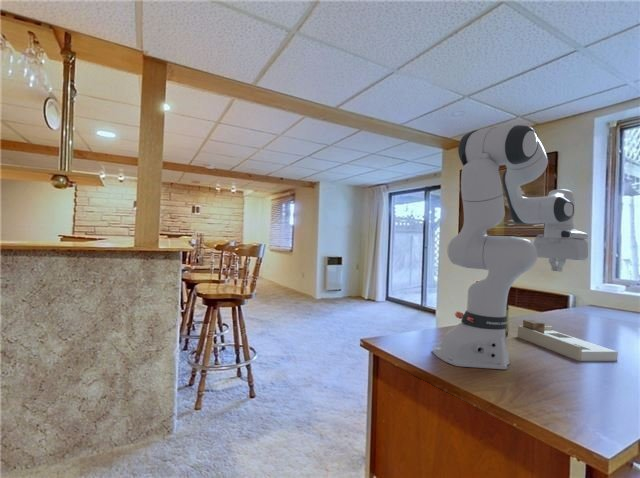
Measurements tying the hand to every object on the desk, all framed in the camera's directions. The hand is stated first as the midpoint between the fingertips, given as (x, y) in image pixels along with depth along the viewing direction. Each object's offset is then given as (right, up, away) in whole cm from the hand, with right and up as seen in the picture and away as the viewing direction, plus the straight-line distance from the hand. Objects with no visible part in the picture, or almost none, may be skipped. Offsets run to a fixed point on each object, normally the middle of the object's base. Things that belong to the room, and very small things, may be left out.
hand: (556, 271), depth 120 cm
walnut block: (-3, -25, +8) cm, 26 cm away
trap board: (+2, -28, -1) cm, 28 cm away
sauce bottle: (-14, -28, +13) cm, 34 cm away
